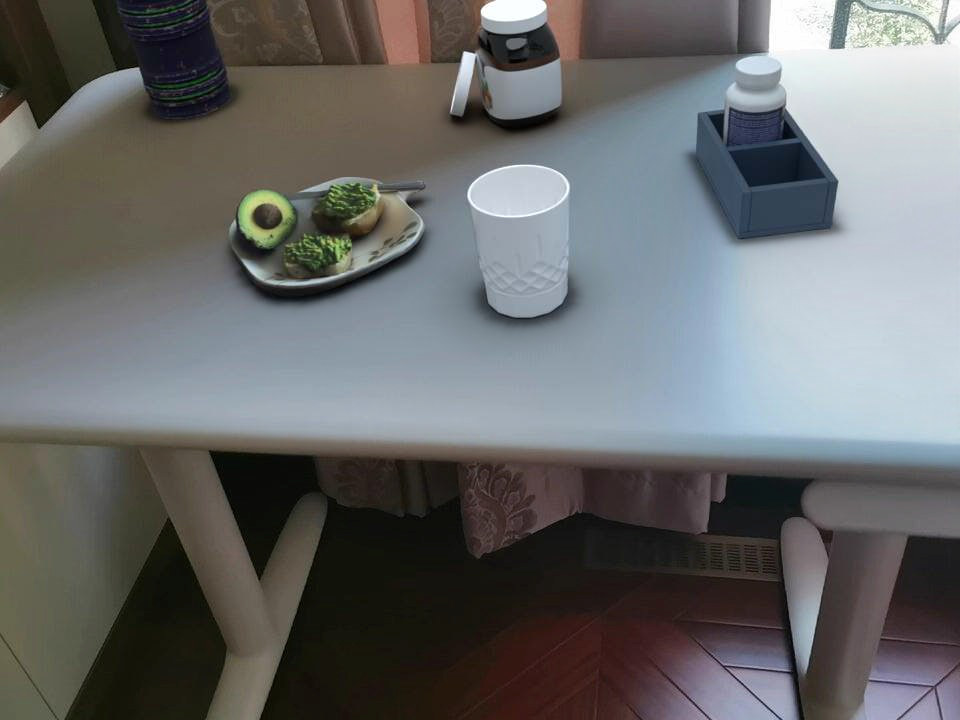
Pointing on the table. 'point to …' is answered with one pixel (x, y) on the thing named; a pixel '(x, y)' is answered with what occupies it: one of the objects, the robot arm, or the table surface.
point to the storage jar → (177, 56)
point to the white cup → (522, 237)
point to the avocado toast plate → (323, 233)
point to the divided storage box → (767, 179)
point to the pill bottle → (754, 103)
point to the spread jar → (513, 65)
